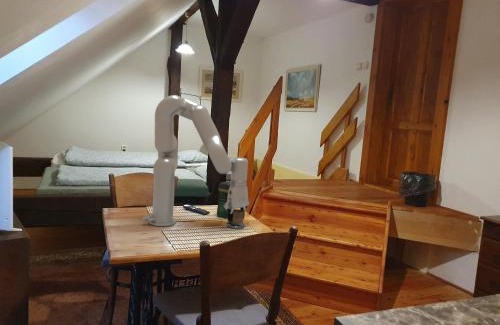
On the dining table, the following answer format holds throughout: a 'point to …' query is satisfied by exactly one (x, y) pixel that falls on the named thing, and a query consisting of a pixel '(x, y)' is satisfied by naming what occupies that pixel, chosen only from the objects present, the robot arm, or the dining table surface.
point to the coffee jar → (223, 199)
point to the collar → (237, 216)
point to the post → (235, 225)
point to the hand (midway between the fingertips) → (235, 219)
